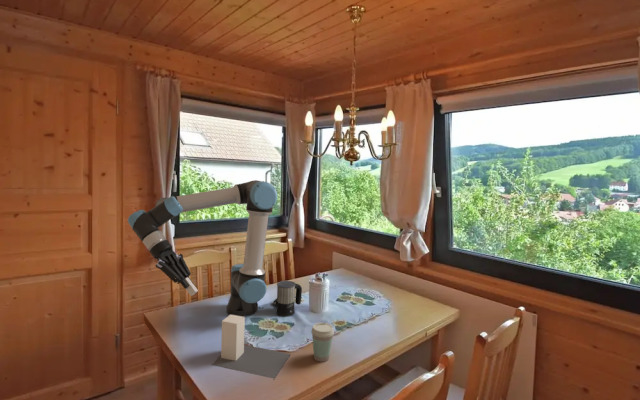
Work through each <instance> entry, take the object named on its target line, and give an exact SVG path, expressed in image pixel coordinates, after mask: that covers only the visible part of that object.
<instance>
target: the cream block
mask: <svg viewBox="0 0 640 400" xmlns="http://www.w3.org/2000/svg"><path fill="white" fill-rule="evenodd" d="M245 317H246V316H236V315H230V314H228V316H227V317H225V318H224V319H223V320H221V348H220V350H221V353H220V356H221V358H225V359H229V360H234V361H236V360H237V359H238V358H239V357H240V356H241V355H242V354H243V353H244V345H245V326H246V325H245V323H246V321H245V320H246V318H245Z"/></svg>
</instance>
